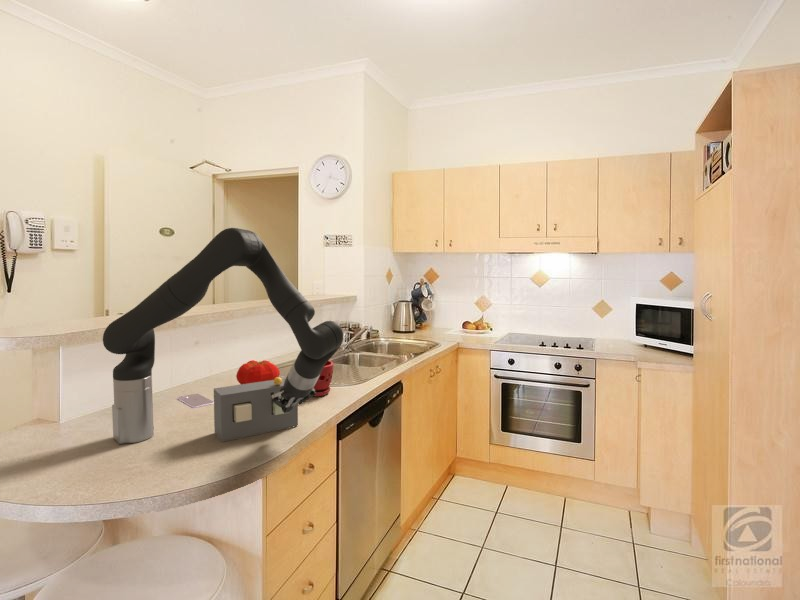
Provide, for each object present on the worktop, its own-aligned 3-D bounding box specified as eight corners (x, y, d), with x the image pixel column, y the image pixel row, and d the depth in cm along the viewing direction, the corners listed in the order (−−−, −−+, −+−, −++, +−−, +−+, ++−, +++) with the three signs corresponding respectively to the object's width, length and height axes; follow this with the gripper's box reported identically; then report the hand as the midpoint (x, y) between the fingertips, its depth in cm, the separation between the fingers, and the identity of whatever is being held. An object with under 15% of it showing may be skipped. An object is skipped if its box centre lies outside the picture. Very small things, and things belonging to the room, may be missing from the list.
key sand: (251, 419, 128) (251, 404, 127) (236, 422, 125) (236, 407, 125) (247, 415, 131) (247, 401, 130) (232, 418, 128) (231, 403, 128)
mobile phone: (193, 406, 153) (176, 396, 163) (193, 409, 153) (176, 399, 163) (215, 401, 158) (197, 392, 169) (215, 404, 158) (197, 395, 169)
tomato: (286, 386, 181) (286, 361, 180) (247, 394, 169) (246, 368, 168) (268, 379, 191) (268, 356, 190) (230, 386, 179) (229, 361, 178)
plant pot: (297, 399, 164) (297, 366, 163) (297, 389, 176) (297, 358, 175) (334, 397, 167) (334, 365, 166) (331, 387, 179) (331, 357, 178)
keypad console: (297, 426, 138) (297, 375, 137) (221, 441, 125) (220, 386, 124) (287, 418, 144) (287, 370, 143) (214, 432, 132) (213, 380, 130)
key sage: (289, 412, 134) (289, 398, 134) (275, 415, 131) (275, 400, 131) (284, 408, 137) (284, 395, 137) (270, 411, 135) (270, 397, 134)
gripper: (321, 362, 125) (303, 394, 136) (274, 367, 117) (259, 402, 129) (330, 385, 121) (310, 417, 132) (281, 393, 114) (265, 426, 125)
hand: (285, 409), depth 130 cm, fingers closed
